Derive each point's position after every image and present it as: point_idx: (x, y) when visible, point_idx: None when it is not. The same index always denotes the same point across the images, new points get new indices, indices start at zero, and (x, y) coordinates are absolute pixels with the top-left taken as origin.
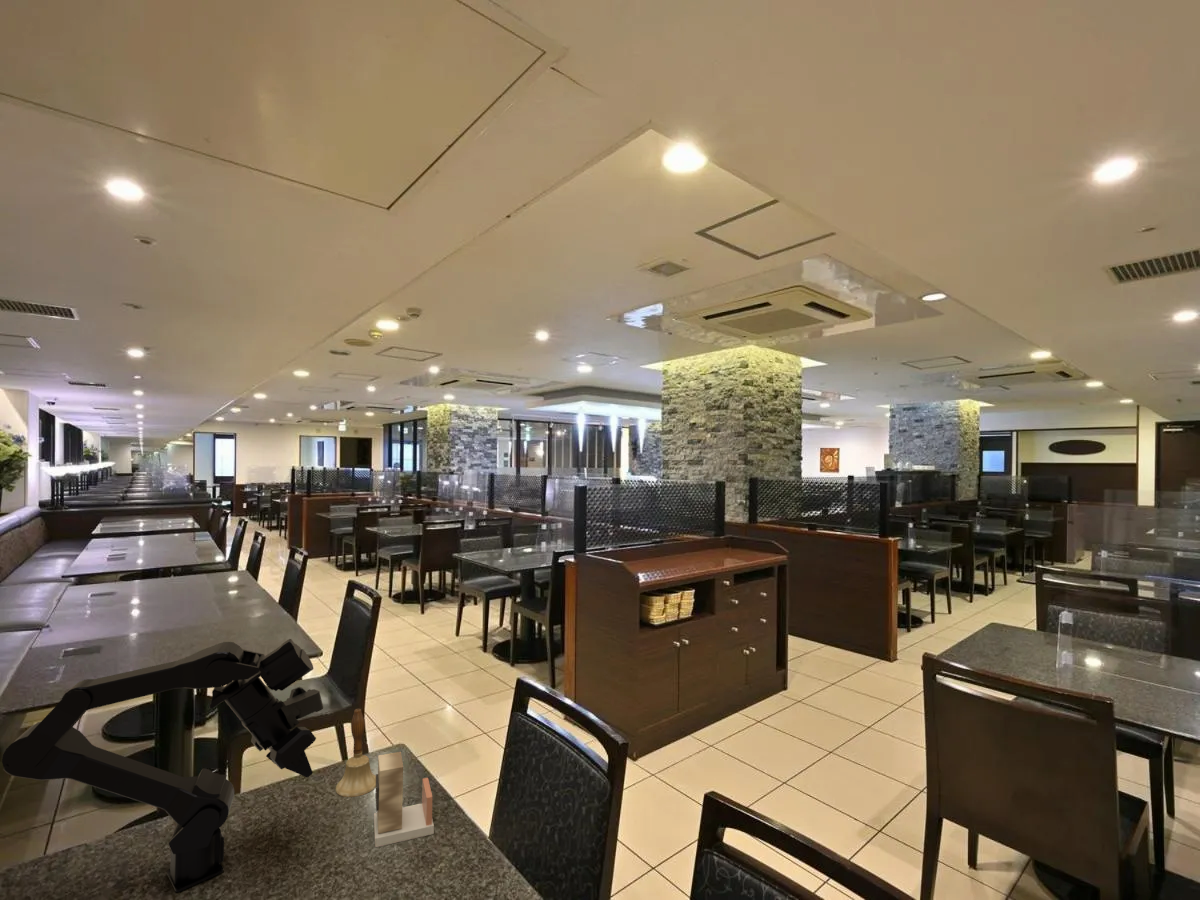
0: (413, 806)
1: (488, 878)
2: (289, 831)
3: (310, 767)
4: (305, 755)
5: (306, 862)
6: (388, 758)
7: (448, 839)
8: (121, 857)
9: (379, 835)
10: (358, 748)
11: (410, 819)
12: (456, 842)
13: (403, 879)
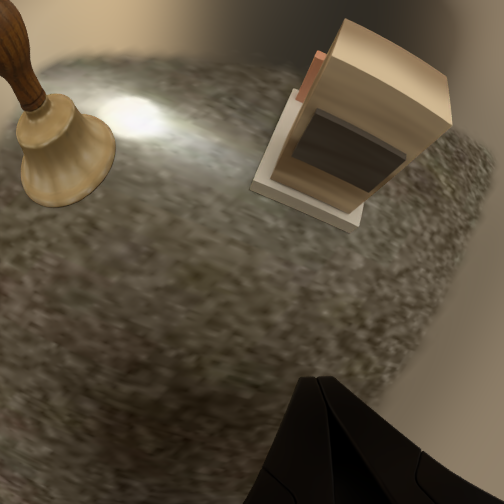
0: (290, 112)
1: (478, 160)
2: (132, 371)
3: (359, 399)
4: (443, 469)
5: None
6: (376, 56)
7: None
8: None
9: (351, 214)
10: (37, 90)
11: None
12: None
13: (448, 239)
